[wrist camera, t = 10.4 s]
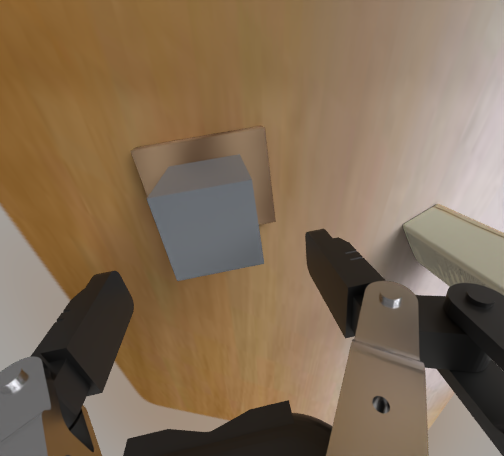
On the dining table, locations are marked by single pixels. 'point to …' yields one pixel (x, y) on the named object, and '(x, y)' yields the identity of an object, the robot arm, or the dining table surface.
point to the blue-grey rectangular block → (207, 217)
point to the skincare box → (457, 248)
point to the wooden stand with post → (210, 147)
